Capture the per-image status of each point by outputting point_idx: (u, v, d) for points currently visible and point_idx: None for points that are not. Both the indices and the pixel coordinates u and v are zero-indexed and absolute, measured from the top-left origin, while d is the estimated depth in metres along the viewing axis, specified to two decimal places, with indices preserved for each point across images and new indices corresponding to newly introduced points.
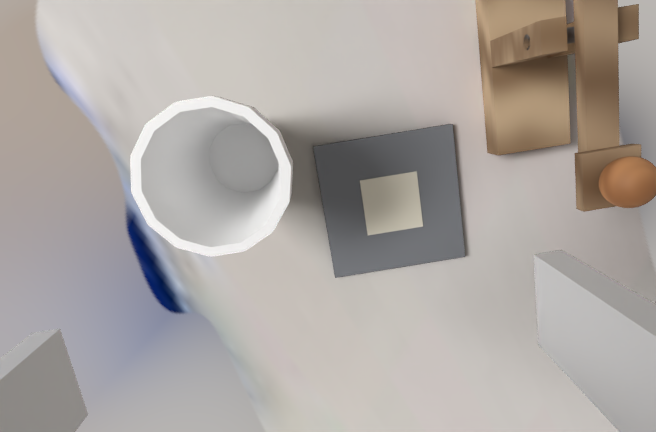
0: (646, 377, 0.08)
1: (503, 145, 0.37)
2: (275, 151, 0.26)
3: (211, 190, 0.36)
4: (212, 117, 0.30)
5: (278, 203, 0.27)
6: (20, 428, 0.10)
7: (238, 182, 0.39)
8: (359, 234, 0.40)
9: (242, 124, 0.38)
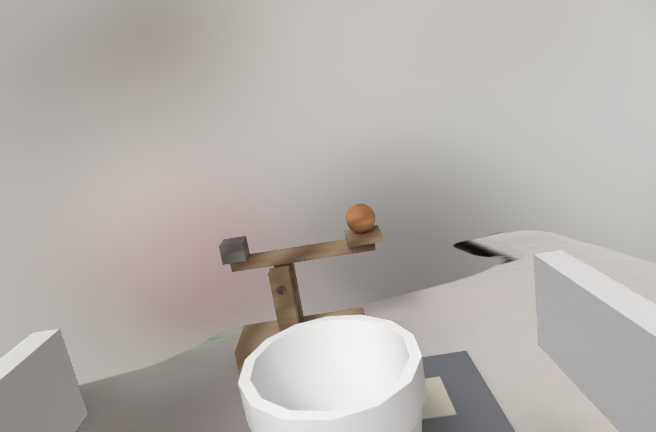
0: (646, 377, 0.08)
1: None
2: (311, 323, 0.27)
3: None
4: None
5: (361, 319, 0.27)
6: (20, 428, 0.10)
7: None
8: (457, 421, 0.35)
9: None
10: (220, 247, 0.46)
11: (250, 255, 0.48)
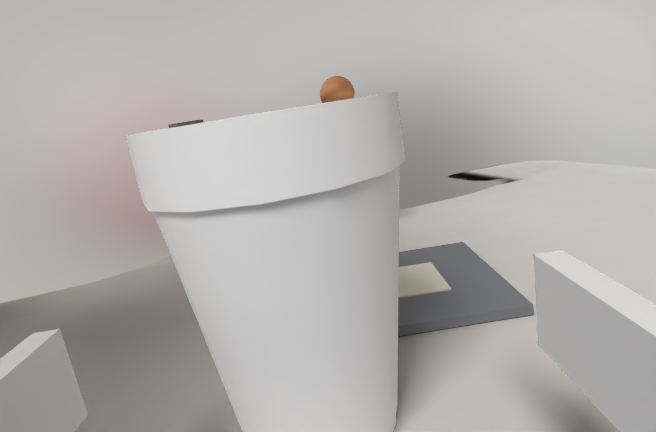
0: (646, 377, 0.08)
1: None
2: None
3: None
4: None
5: None
6: (20, 428, 0.10)
7: None
8: (451, 294, 0.27)
9: None
10: (170, 126, 0.38)
11: None
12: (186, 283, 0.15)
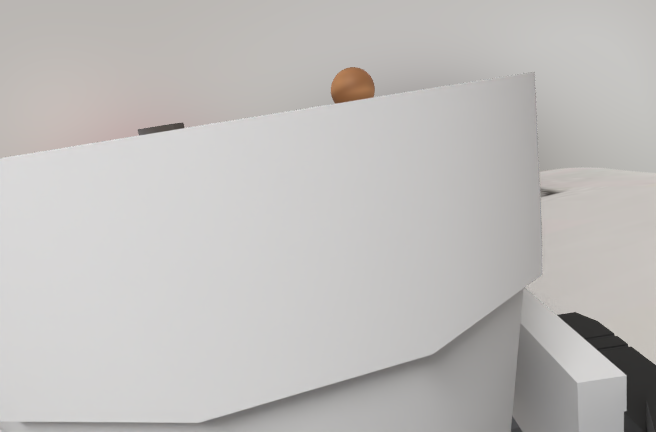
0: None
1: None
2: None
3: None
4: None
5: None
6: None
7: None
8: None
9: None
10: (140, 131, 0.30)
11: None
12: None
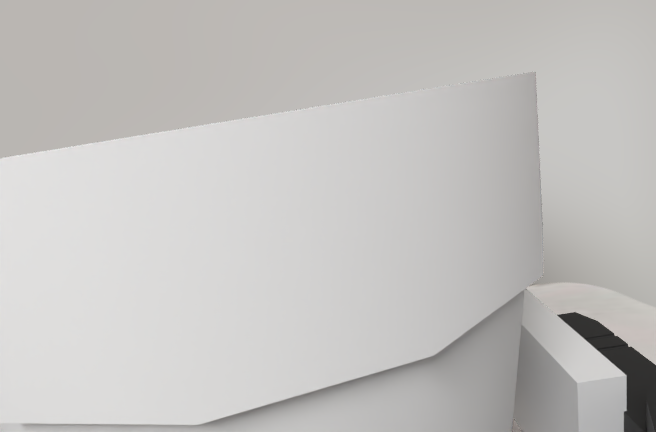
0: None
1: None
2: None
3: None
4: None
5: None
6: None
7: None
8: None
9: None
10: None
11: None
12: None
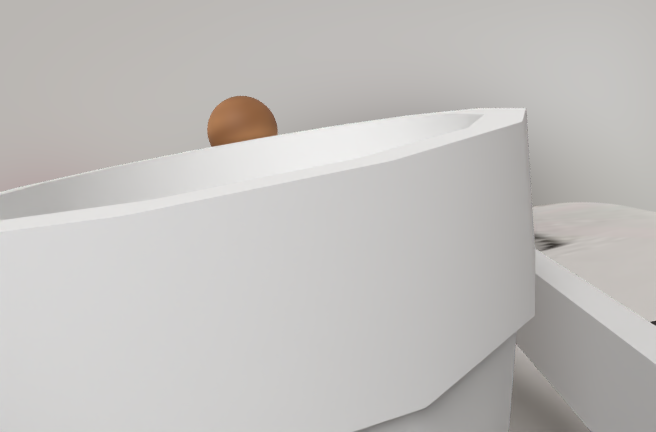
0: (603, 368, 0.08)
1: None
2: None
3: None
4: None
5: (340, 126, 0.11)
6: None
7: None
8: None
9: None
10: None
11: None
12: None
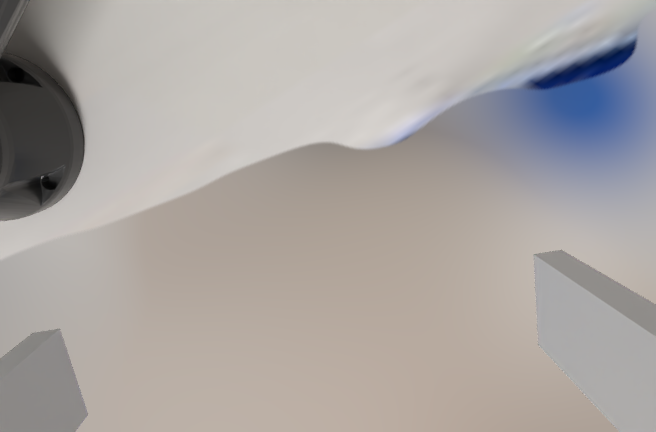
0: (646, 377, 0.08)
1: None
2: None
3: None
4: None
5: None
6: (20, 428, 0.10)
7: None
8: None
9: None
10: None
11: None
12: None
